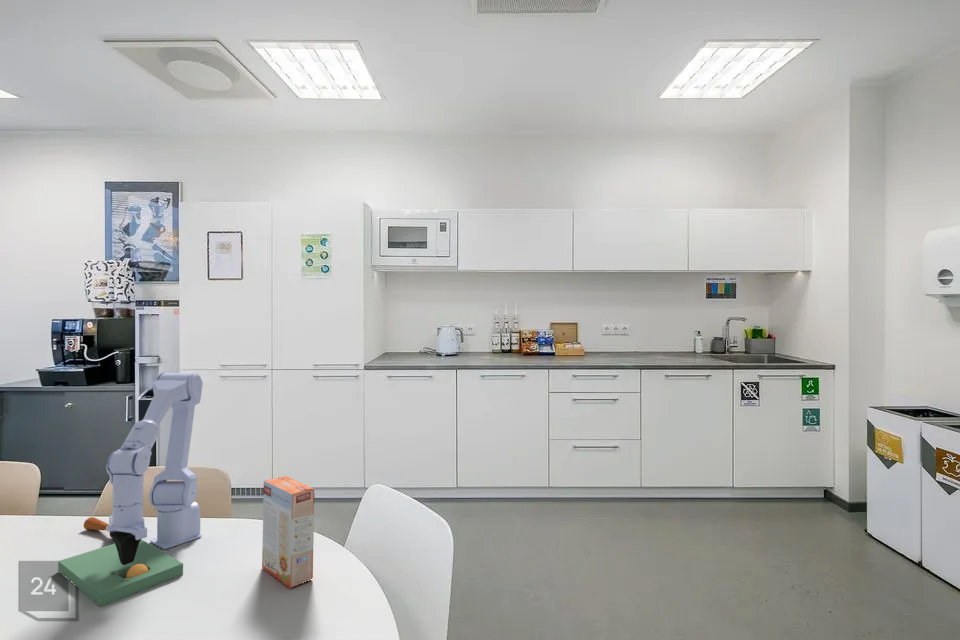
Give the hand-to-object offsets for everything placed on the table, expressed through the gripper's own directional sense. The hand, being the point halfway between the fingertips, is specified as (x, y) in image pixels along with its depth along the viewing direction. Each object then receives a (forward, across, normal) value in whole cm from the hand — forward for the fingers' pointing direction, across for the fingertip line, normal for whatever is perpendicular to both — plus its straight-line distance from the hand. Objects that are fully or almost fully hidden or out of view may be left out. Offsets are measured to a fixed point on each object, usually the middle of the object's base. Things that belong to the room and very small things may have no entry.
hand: (127, 562), depth 114 cm
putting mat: (+3, -4, 0) cm, 5 cm away
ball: (+1, +4, 0) cm, 4 cm away
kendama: (+4, -28, +7) cm, 29 cm away
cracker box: (+4, +28, +22) cm, 35 cm away
